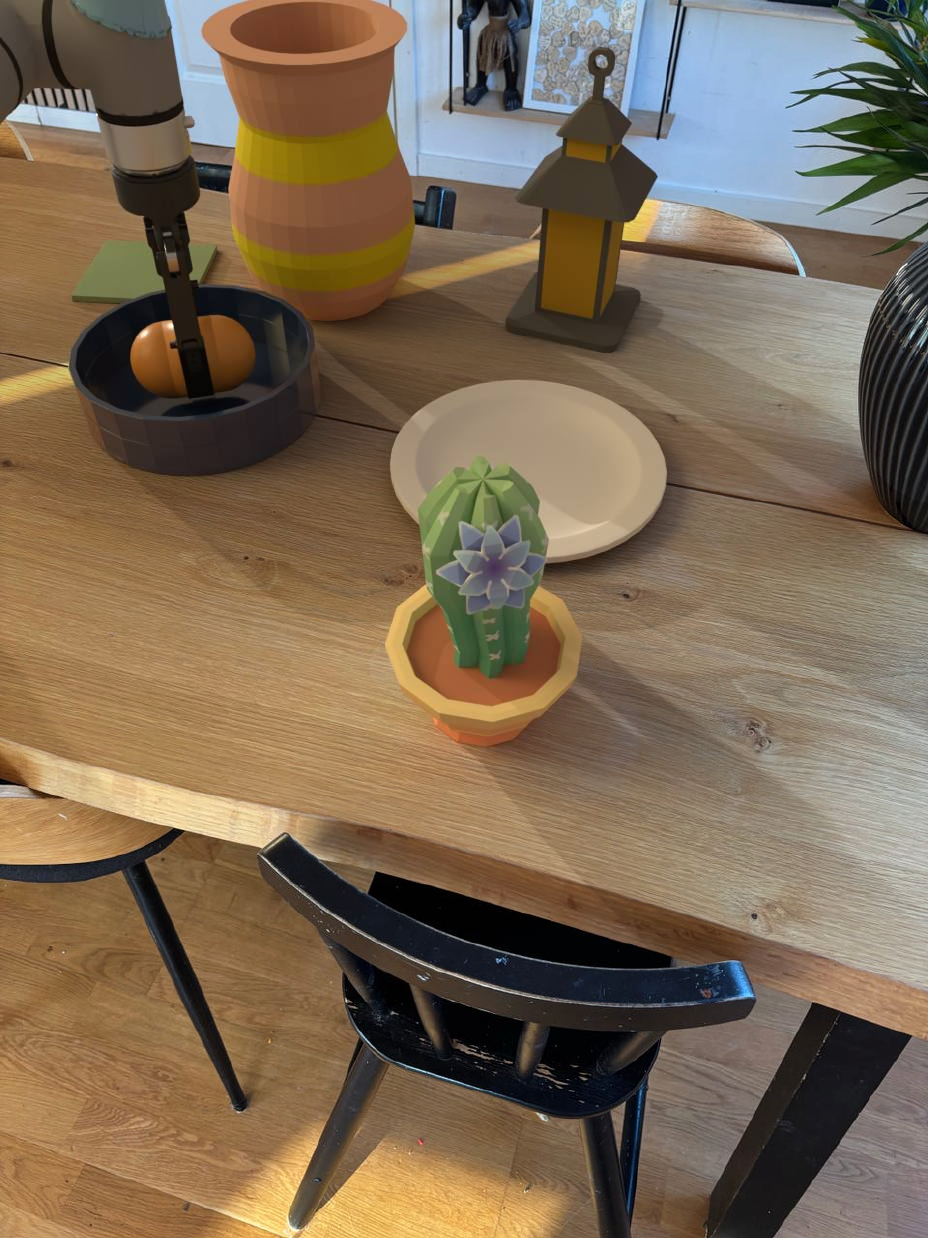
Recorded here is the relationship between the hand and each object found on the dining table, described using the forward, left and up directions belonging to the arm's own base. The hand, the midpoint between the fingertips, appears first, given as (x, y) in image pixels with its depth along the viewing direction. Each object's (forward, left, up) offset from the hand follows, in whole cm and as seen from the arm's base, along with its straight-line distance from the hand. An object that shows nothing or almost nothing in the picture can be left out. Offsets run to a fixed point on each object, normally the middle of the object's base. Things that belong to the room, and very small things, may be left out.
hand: (197, 371), depth 106 cm
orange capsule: (0, 0, -2) cm, 2 cm away
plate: (+36, -10, -4) cm, 38 cm away
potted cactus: (+33, -39, -4) cm, 51 cm away
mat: (-14, +26, -4) cm, 30 cm away
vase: (+10, +25, -4) cm, 27 cm away
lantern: (+41, +22, -4) cm, 47 cm away
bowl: (0, 0, -4) cm, 4 cm away
